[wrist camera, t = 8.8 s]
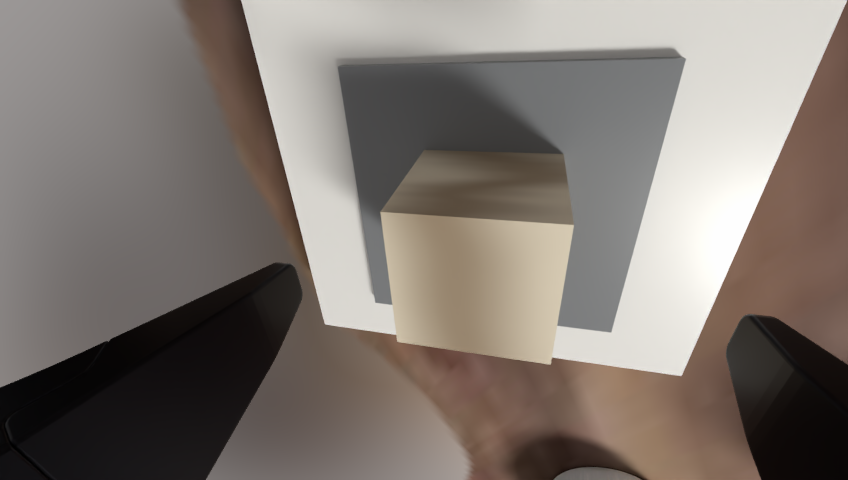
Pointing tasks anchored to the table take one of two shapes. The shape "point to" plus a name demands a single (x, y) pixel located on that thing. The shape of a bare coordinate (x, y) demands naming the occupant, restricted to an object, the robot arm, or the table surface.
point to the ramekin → (595, 474)
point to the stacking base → (545, 139)
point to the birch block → (480, 252)
